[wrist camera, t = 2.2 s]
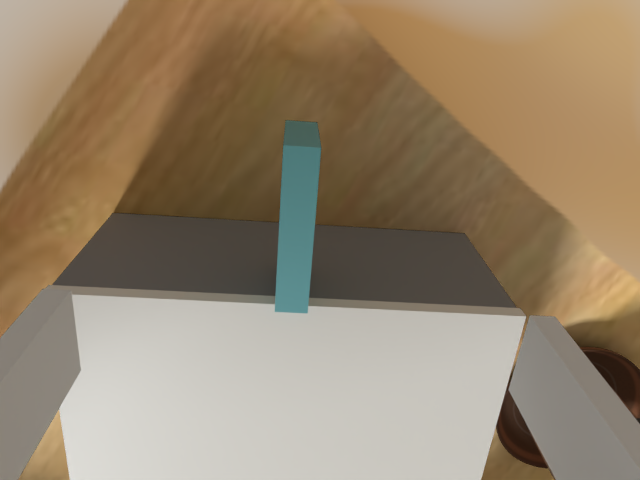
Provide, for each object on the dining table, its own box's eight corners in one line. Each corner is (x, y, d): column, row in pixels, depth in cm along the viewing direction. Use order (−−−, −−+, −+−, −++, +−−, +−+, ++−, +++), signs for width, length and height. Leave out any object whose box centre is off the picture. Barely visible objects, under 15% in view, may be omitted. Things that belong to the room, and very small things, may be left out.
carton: (128, 401, 43) (82, 511, 33) (113, 212, 36) (50, 286, 27) (427, 412, 44) (461, 520, 35) (464, 233, 38) (517, 309, 29)
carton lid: (100, 471, 37) (72, 539, 32) (57, 103, 26) (7, 126, 22) (448, 480, 38) (468, 546, 34) (531, 137, 28) (576, 165, 24)
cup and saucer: (664, 361, 43) (719, 415, 38) (581, 465, 48) (619, 528, 42) (537, 316, 41) (575, 367, 35) (462, 430, 45) (485, 491, 40)
